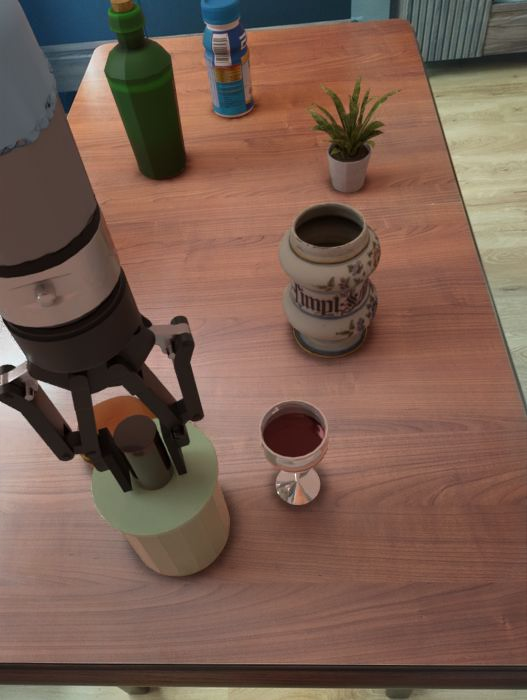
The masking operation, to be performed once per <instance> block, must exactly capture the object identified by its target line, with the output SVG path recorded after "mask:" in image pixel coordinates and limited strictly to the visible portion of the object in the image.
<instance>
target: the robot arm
mask: <svg viewBox="0 0 527 700" xmlns="http://www.w3.org/2000/svg"><path fill="white" fill-rule="evenodd" d="M0 317H1V321H2V322H3V324H4V326H5V328H6V329H7V331H8V332H9V334H10V335H11V337H12V338H13V340H14V341H15V343H16V344H17V346H18V347H19V349H20V350H21V352H22V353H23V355H24V356H25V358H26V360H25V361H24V362H22V363H21V364H19V365H17V366H15V365H13V364H9V363H7V364H2V365H0V403H2V404H3V405H6V406H7V407H10V408H11V409H13V410H15V411H17V412H19V413H20V414H21V416H22V417H23V418H24V419H25V420H26V421H27V423H28V424H29V425H30V426H31V427H32V429H33V430H34V431H35V433H37V435H38V436H39V437H40V438H41V439H42V441H43V442H44V443H45V445H46V446H47V447H48V448H49V450H50V451H51V452H52V453H53V454H54V455H55V457H56V458H57V459H58V460H59V461H60V462H70V461H72V460H73V459H75V456H77V455H80V454H83V455H84V456H85V457H86V458H89V459H90V461H91V462H92V464H93V465H94V467H95V468H96V470H97V471H99V472H104V471H107V470H110V471H111V473H112V474H113V476H114V477H115V479H116V481H117V482H118V484H119V485H120V487H121V489H122V490H123V492H124V493H125V492H128V491H132V484H131V478H130V472H129V469H128V467H127V465H126V464H125V462H124V460H123V458H122V457H121V455H120V453H119V451H118V450H117V448H116V446H115V444H114V442H113V437H112V435H111V433H110V431H109V430H108V428H107V427H105V428H102V429H98V433H99V435H98V433H97V428H96V420H95V415H94V409H93V406H94V403H93V397H92V395H95V394H97V393H100V392H102V391H104V390H106V389H108V388H115V387H123V388H124V389H125V390H126V392H127V393H129V395H130V396H133V397H136V398H138V399H140V400H141V401H142V402H143V404H144V405H145V406H146V407H147V408H148V409H149V410H150V411H151V412H152V413H153V414H154V415H155V416H156V417H157V418H158V419H159V424H160V428H161V433H162V437H163V440H164V443H165V445H166V447H167V449H168V452H169V454H170V456H171V459H172V461H173V463H174V465H175V468H176V470H177V472H178V475H179V476H180V475H183V474H186V473H187V470H186V466H185V462H184V458H183V454H182V449H181V447H184V446H187V445H189V443H190V439H189V435H188V431H187V427H186V425H185V424H186V423H187V422H188V423H189V421H190V422H193V423H196V422H200V421H202V420H203V419H204V418H205V413H204V408H203V404H202V402H201V398H200V393H199V390H198V386H197V382H196V379H195V375H194V370H193V368H192V364H191V361H192V359H193V355H194V350H195V347H196V343H195V340H194V337H193V333H192V330H191V327H190V323H189V320H188V318H187V316H185V315H176V316H174V317H173V318H172V319H171V320H170V324H153V323H152V321H151V319H149V318H148V317H146V316H145V315H143V314H142V313H141V312H140V310H139V307H138V305H137V301H136V299H135V296H134V294H133V291H132V289H131V285H130V284H129V281H128V278H127V275H126V273H125V270H124V268H123V267H122V265H121V260H120V257H119V254H118V252H117V248H116V246H115V244H114V241H113V237H112V235H111V233H110V230H109V227H108V224H107V222H106V219H105V215H104V213H103V210H102V208H101V206H100V205H99V202H98V200H97V198H96V194H95V192H94V189H93V186H92V183H91V180H90V178H89V175H88V172H87V170H86V167H85V164H84V162H83V158H82V156H81V153H80V150H79V148H78V144H77V142H76V140H75V137H74V133H73V131H72V128H71V125H70V122H69V120H68V118H67V114H66V112H65V109H64V107H63V104H62V101H61V98H60V95H59V93H58V87H57V80H56V77H55V75H54V73H53V67H52V64H51V62H50V60H49V59H48V57H47V55H46V54H45V52H44V51H43V50H42V48H41V47H40V45H39V42H38V41H37V38H36V35H35V33H34V31H33V28H32V26H31V24H30V22H29V20H28V18H27V15H26V13H25V11H24V9H23V7H22V5H21V3H20V2H19V0H0ZM155 346H159V347H160V349H161V352H162V353H163V354H164V355H166V356H167V359H169V360H171V362H172V366H173V369H174V373H175V376H176V380H177V382H178V386H179V389H180V393H181V396H182V398H180V399H178V400H177V399H176V398H175V397H174V395H172V393H171V392H170V391H169V389H168V388H167V387H166V386H165V385H164V383H163V382H162V381H161V380H160V379H159V378H158V376H156V374H155V373H154V372H153V370H152V369H150V367H149V366H148V365H147V364H146V363H145V362H146V361H147V359H148V357H149V355H150V354H151V352H152V351H153V348H154V347H155ZM38 381H39V382H42V383H45V384H48V385H51V386H54V387H57V388H60V389H63V390H66V391H68V392H70V395H71V399H72V404H73V410H74V412H75V416H76V417H75V418H76V422H77V428H78V427H79V431H78V430H74V431H73V430H72V427H70V425H69V424H68V421H66V419H65V418H64V416H63V415H62V414H61V412H60V411H59V410H58V408H57V407H56V405H55V404H54V403H53V401H52V400H51V399H50V397H49V396H48V394H47V393H46V392H45V390H44V389H43V388H42V386H41V385H40V383H39V382H38Z"/></svg>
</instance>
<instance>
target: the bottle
mask: <svg viewBox="0 0 527 700" xmlns="http://www.w3.org/2000/svg"><path fill="white" fill-rule="evenodd" d="M109 2H110V5H111V6H110V7H109V8H108V10H107V16H108V17H107V18H108V28H109V30H110V31H111V32H113V33H114V34H115V38H116V39H117V42H118V43H117V44H115V45H114V47H112V49H111V50H109V52H108V54H107V59H106V62H105V64H104V69H103V72H104V76H105V78H106V81H107V83H108V86H109V89H110V92H111V95H112V97H113V100H114V103H115V106H116V108H117V111H118V114H119V116H120V119H121V123H122V124H123V127H124V130H125V134H126V136H127V139H128V141H129V142H128V143H129V144H130V147H131V150H132V153H133V156H134V159H135V161H136V163H137V164H136V165H137V166H138V169H139V172H141V173H142V175H143V176H144V177H146V178H150V179H152V180H162V179H169V178H171V177H174V176H176V175H179V174H180V173H181V172H182V171H183V170H184V169H185V168H186V167H187V154H186V147H185V146H186V145H185V140H184V139H185V138H184V133H183V127H182V121H181V113H180V106H179V100H178V94H177V87H176V80H175V74H174V68H173V67H174V66H173V61H172V55H171V54H170V53H169V52H168V51H167V50H166V49H165V48H164V47H163V46H162V45H161V44H160V43H159V42H157V41H156V40H153V39H150V38H148V37H146V36H145V30H144V26H146V24H147V20H146V17H145V15H144V12H143V10H142V8H141V6H140V4H138V3H137V2H135V1H134V0H109Z"/></svg>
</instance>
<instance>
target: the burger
mask: <svg viewBox="0 0 527 700" xmlns="http://www.w3.org/2000/svg"><path fill="white" fill-rule="evenodd" d="M93 409H94V415H95V420H96V428H97V433H98V429H102V428H105V427H107V428H108V430H109V431H110V433H111V435H112V437H113V434H114V430H115V428H116V427H117V425H118V424H119V423H120V422H121V421H122V420H123V419H125V418H127V417H129V416H132V415H145V416H148V417H150V418H151V419H156V418H157V417H156V416H155V415H154V414H153V413H152V412H151V411H150V410H149V409H148V408H147V407H146V406H145V405H144V404H143V402H142V401H141V400H140V399H139V398H138V397H137V396H132V395H130V394H129V395H128V394H127V395H118V396H114V397H111V398H108V399H105V400H102V401H100V402H98V403H96V404H93ZM76 431H79V427H78V426H77V429H76ZM98 435H99V433H98ZM79 456H81V457H82V458H83V460H84V461H85V463H87V464H89V466H91V469H92V470H94V465H93V464H92V462H91V461H90V459H89V458H86V457H85V456H84V455H83V454H79Z"/></svg>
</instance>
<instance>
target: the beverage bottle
mask: <svg viewBox="0 0 527 700" xmlns="http://www.w3.org/2000/svg"><path fill="white" fill-rule="evenodd" d="M200 10H201V16H202V20H203V22H204V24H205V28H204V31H203V35H202V46H203V48H204V54H203V59H204V63H205V67H206V71H207V77H208V83H209V90H210V95H211V102H212V103H211V104H212V109H213V112H214V113H215V114H216V115H218V116H219V117H222V118H227V119H234V118H240V117H243V116H245V115H247V114H248V113H250V112H251V111H252V110H253V109H254V105H255V100H254V95H253V82H252V74H251V62H250V58H251V57H250V55H251V53H250V47H249V46H248V44H247V43H248V35H247V31H246V29H245V27H244V26H243V25H242V23H241V22H240V21H239V20H240V19H241V4H240V0H200Z"/></svg>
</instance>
